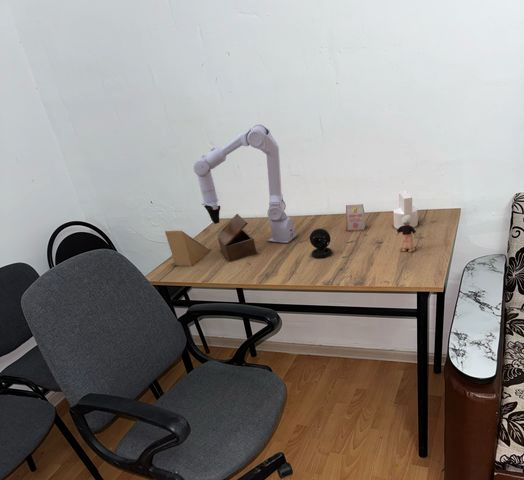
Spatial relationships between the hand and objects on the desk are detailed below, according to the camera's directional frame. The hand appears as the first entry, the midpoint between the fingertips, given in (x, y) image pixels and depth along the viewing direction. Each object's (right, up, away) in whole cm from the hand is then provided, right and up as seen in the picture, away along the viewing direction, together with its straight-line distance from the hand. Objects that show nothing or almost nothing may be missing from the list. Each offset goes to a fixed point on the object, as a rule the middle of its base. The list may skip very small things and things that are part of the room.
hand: (215, 222), depth 198 cm
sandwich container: (-9, -15, 0) cm, 18 cm away
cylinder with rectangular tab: (+76, -5, -12) cm, 77 cm away
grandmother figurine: (+71, -18, -30) cm, 79 cm away
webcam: (+42, -18, -20) cm, 50 cm away
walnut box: (+10, -14, -4) cm, 17 cm away
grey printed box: (+58, -5, -6) cm, 58 cm away
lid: (+8, -6, -10) cm, 14 cm away
